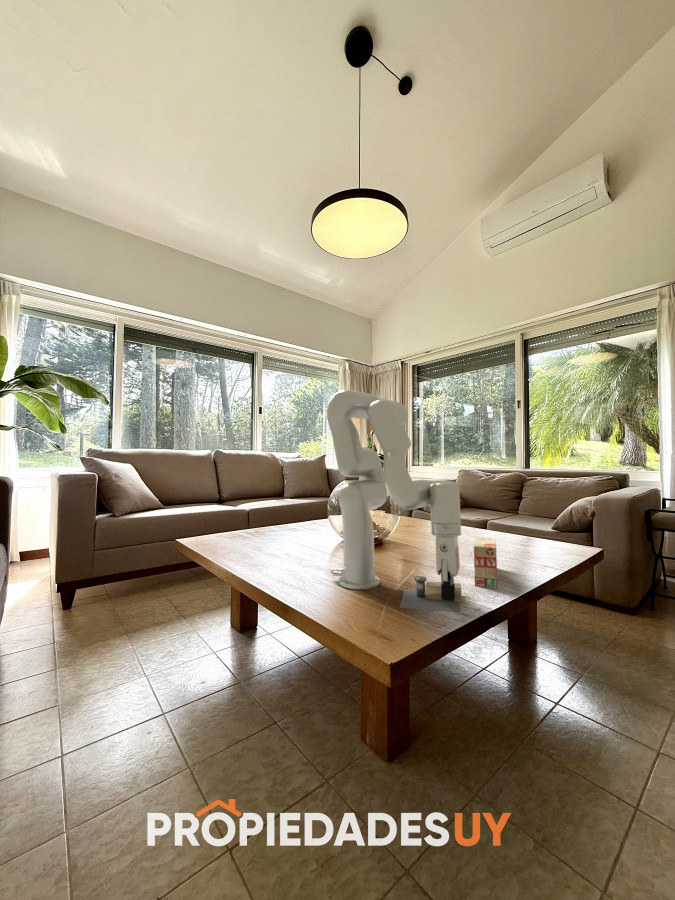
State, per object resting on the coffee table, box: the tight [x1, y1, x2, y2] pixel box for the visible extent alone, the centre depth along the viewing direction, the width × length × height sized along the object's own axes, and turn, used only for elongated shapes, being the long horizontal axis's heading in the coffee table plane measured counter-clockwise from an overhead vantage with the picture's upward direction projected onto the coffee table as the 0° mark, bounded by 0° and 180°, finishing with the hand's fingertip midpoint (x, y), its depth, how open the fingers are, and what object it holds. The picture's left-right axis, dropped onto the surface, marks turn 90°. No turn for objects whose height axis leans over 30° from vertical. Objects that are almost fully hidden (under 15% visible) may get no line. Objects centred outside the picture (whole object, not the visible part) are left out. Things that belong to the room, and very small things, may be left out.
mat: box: [399, 588, 462, 613], centre depth 101 cm, size 15×14×1 cm
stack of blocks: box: [473, 537, 498, 589], centre depth 120 cm, size 21×6×12 cm, turn 158°
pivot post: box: [414, 575, 428, 598], centre depth 104 cm, size 3×3×5 cm
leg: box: [425, 581, 463, 603], centre depth 102 cm, size 3×9×4 cm, turn 69°
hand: (448, 599), depth 98 cm, fingers closed
